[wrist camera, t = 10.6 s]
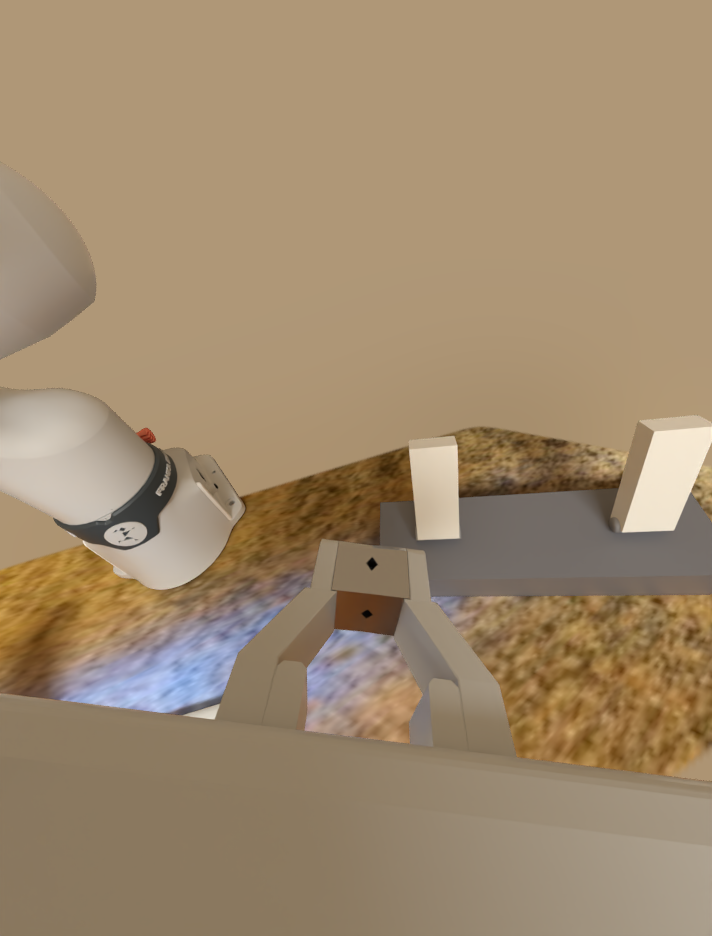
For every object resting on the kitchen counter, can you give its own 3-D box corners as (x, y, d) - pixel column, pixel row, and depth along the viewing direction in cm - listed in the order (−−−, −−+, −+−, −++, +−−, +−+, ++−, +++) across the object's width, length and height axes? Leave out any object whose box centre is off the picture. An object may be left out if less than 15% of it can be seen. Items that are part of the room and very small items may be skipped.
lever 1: (461, 543, 32) (459, 445, 28) (416, 545, 33) (406, 449, 28) (458, 530, 34) (456, 435, 29) (415, 532, 35) (406, 440, 30)
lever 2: (674, 536, 29) (721, 425, 24) (617, 538, 30) (651, 431, 24) (659, 521, 31) (700, 414, 25) (606, 523, 32) (635, 421, 26)
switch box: (709, 594, 30) (749, 573, 26) (386, 596, 36) (379, 579, 32) (659, 510, 36) (686, 482, 32) (385, 523, 42) (380, 501, 38)
